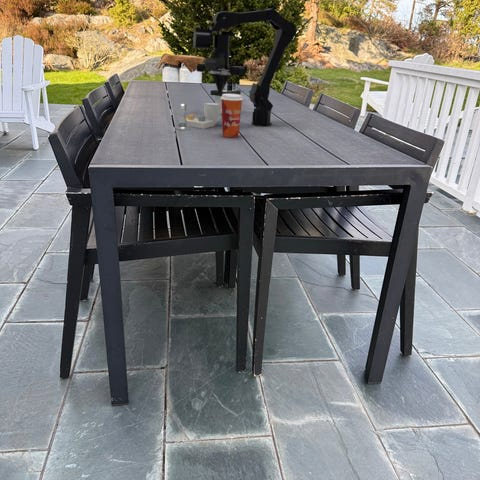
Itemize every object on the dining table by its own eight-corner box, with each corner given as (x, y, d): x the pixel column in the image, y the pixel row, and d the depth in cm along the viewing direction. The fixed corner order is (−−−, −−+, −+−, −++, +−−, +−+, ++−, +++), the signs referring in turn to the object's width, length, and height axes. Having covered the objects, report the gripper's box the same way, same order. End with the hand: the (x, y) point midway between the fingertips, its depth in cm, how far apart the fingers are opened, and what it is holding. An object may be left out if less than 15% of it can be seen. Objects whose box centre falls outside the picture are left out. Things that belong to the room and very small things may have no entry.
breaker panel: (214, 125, 172) (215, 116, 170) (204, 128, 165) (204, 119, 164) (189, 121, 177) (189, 112, 175) (177, 124, 170) (177, 115, 169)
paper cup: (225, 138, 151) (226, 96, 145) (216, 134, 157) (217, 93, 151) (245, 137, 155) (247, 96, 149) (235, 133, 161) (237, 93, 155)
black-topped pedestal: (236, 121, 186) (237, 88, 180) (185, 113, 197) (185, 82, 191) (265, 113, 208) (267, 84, 202) (219, 107, 219) (219, 79, 214)
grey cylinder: (217, 123, 177) (218, 105, 174) (201, 122, 178) (201, 104, 175) (221, 120, 183) (222, 103, 180) (205, 119, 184) (206, 102, 181)
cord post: (191, 128, 164) (191, 103, 160) (184, 130, 160) (184, 105, 156) (180, 127, 166) (180, 102, 162) (173, 128, 162) (172, 103, 158)
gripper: (188, 47, 160) (188, 92, 167) (232, 50, 153) (231, 97, 159) (204, 47, 169) (203, 90, 176) (247, 50, 162) (245, 94, 168)
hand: (220, 93), depth 169 cm, fingers closed
